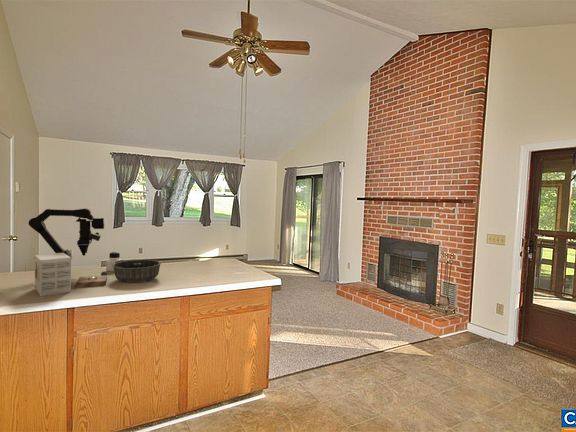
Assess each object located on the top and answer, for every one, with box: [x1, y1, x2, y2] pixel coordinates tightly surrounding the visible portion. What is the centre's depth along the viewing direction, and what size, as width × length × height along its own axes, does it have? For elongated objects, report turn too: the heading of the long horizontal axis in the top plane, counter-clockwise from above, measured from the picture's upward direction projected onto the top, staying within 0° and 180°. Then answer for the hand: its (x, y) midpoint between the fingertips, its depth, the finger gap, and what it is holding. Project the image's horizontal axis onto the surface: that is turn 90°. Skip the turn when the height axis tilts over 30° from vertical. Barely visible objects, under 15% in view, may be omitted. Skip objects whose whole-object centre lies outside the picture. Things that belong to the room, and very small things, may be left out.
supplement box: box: [34, 252, 72, 297], centre depth 174 cm, size 17×13×18 cm
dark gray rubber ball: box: [100, 270, 108, 276], centre depth 205 cm, size 4×4×4 cm
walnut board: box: [75, 274, 108, 288], centre depth 190 cm, size 14×14×2 cm
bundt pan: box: [112, 259, 162, 284], centre depth 202 cm, size 26×26×10 cm
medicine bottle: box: [105, 251, 124, 273], centre depth 223 cm, size 7×7×12 cm
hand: (84, 254), depth 207 cm, fingers open, 9 cm apart
